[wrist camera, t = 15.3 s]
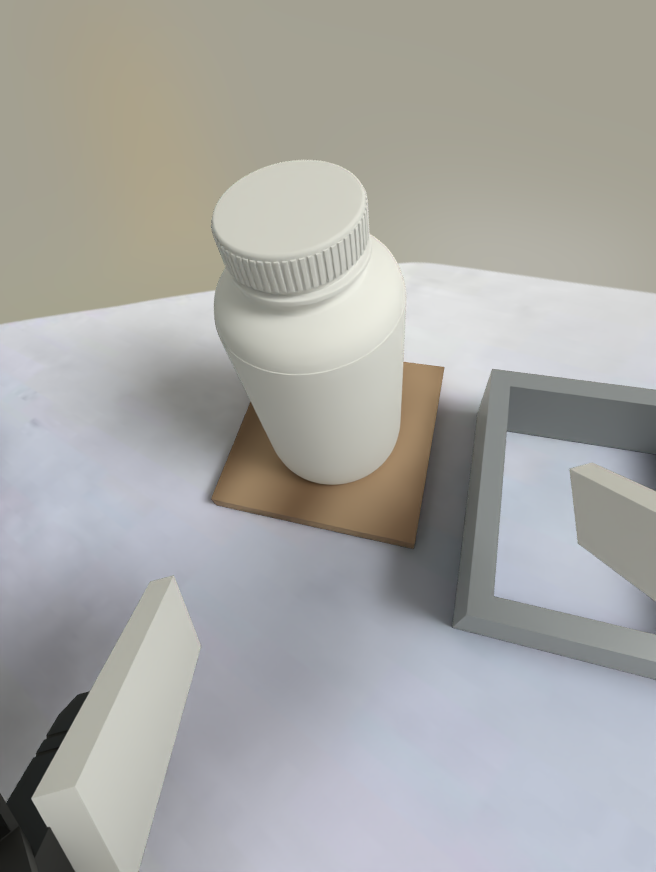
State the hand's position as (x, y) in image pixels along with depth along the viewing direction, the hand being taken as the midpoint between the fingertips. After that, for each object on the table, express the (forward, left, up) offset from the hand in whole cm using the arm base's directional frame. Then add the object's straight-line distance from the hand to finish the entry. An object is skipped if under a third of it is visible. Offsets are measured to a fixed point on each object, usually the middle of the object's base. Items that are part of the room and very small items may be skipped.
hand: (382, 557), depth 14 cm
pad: (-5, +9, -10) cm, 15 cm away
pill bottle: (-5, +9, -9) cm, 14 cm away
